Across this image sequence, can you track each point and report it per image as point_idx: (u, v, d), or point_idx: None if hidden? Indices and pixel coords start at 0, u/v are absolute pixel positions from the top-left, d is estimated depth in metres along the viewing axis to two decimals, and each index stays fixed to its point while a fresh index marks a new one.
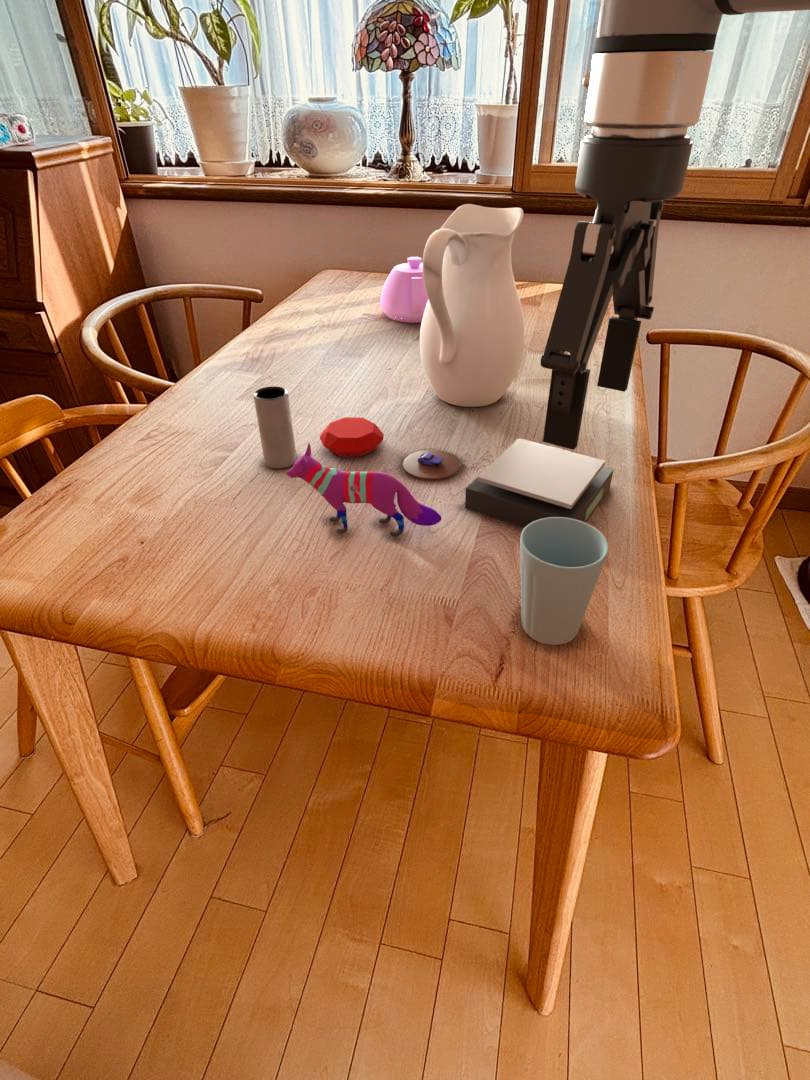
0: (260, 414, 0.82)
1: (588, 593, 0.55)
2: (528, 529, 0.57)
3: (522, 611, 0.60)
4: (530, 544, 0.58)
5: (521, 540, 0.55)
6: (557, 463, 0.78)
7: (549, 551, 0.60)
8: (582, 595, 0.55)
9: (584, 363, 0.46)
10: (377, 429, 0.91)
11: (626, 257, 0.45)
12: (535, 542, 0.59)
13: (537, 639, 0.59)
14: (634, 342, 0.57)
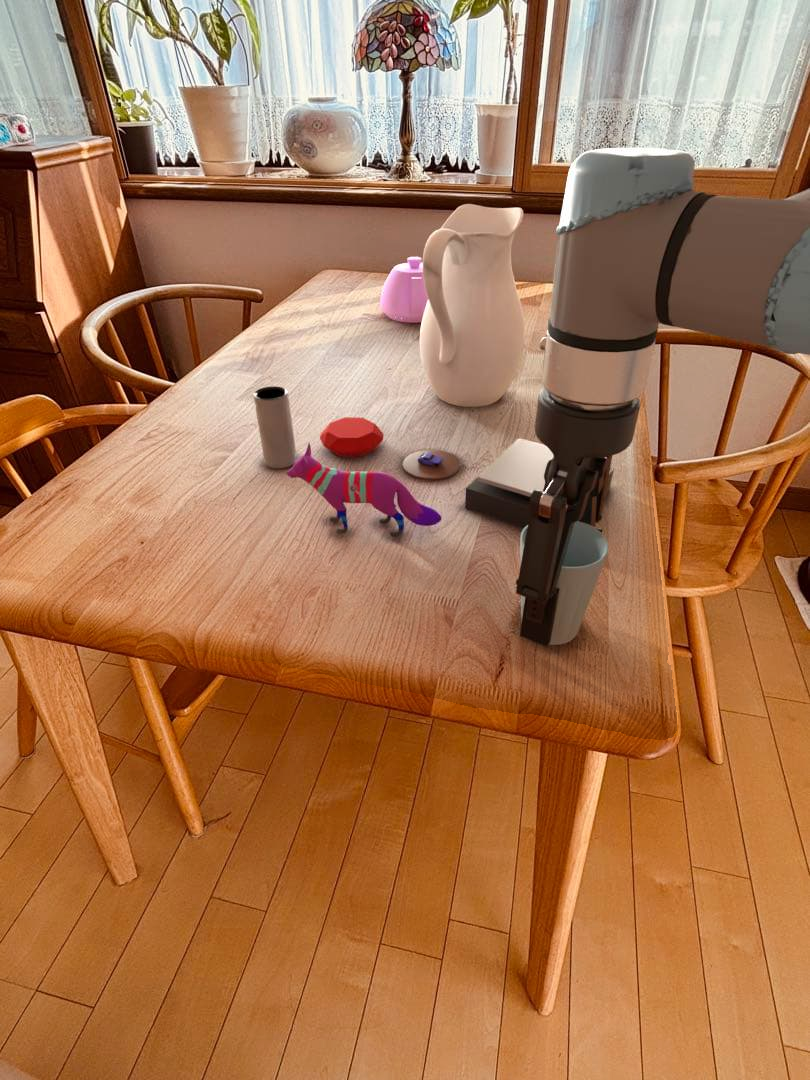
0: (260, 414, 0.82)
1: (588, 593, 0.55)
2: None
3: (522, 611, 0.60)
4: None
5: (521, 540, 0.55)
6: None
7: None
8: (582, 595, 0.55)
9: (553, 591, 0.52)
10: (377, 429, 0.91)
11: (582, 501, 0.49)
12: None
13: None
14: None
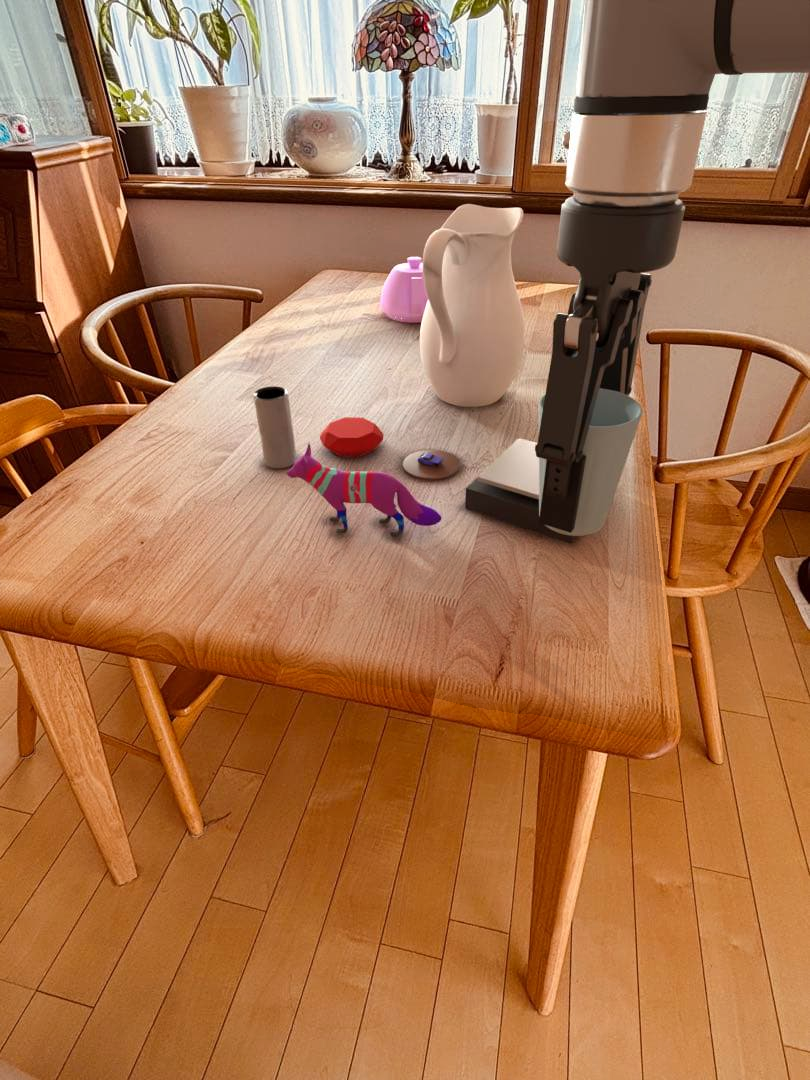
0: (260, 414, 0.82)
1: (618, 466, 0.48)
2: None
3: (540, 499, 0.52)
4: None
5: (540, 405, 0.48)
6: None
7: None
8: (612, 467, 0.47)
9: (579, 453, 0.44)
10: (377, 429, 0.91)
11: (614, 336, 0.41)
12: None
13: (558, 530, 0.52)
14: None
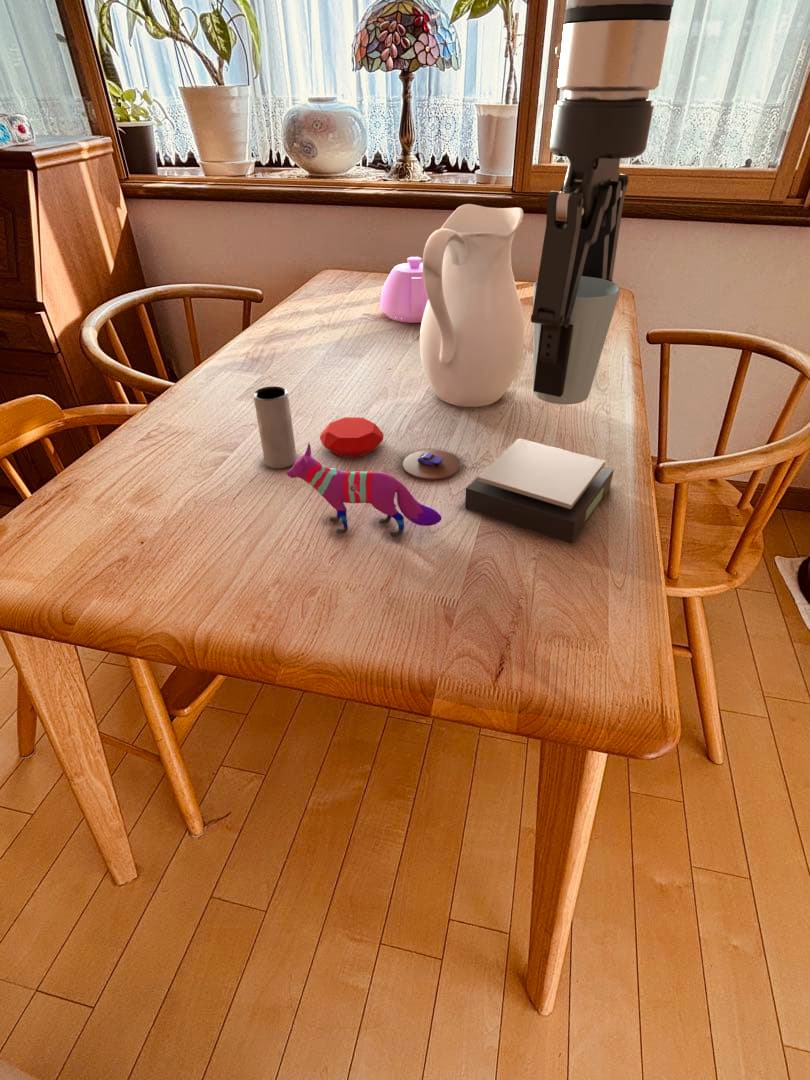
0: (260, 414, 0.82)
1: (600, 337, 0.57)
2: None
3: (534, 374, 0.61)
4: None
5: (534, 286, 0.57)
6: (557, 463, 0.78)
7: None
8: (594, 337, 0.56)
9: (567, 319, 0.53)
10: (377, 429, 0.91)
11: (597, 216, 0.51)
12: None
13: (549, 399, 0.61)
14: None
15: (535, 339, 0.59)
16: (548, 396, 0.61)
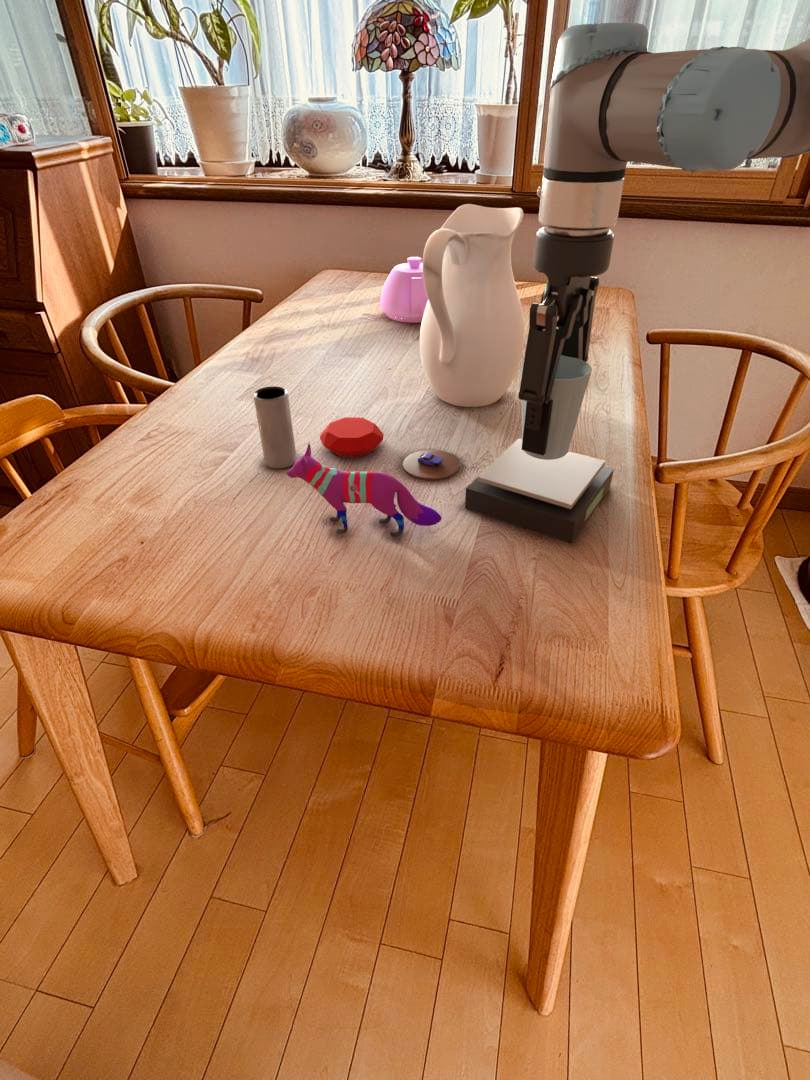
0: (260, 414, 0.82)
1: (575, 408, 0.70)
2: None
3: None
4: None
5: (522, 366, 0.70)
6: (557, 463, 0.78)
7: None
8: (570, 408, 0.69)
9: (547, 397, 0.66)
10: (377, 429, 0.91)
11: (570, 319, 0.63)
12: None
13: (535, 455, 0.74)
14: None
15: (523, 407, 0.72)
16: (534, 453, 0.74)
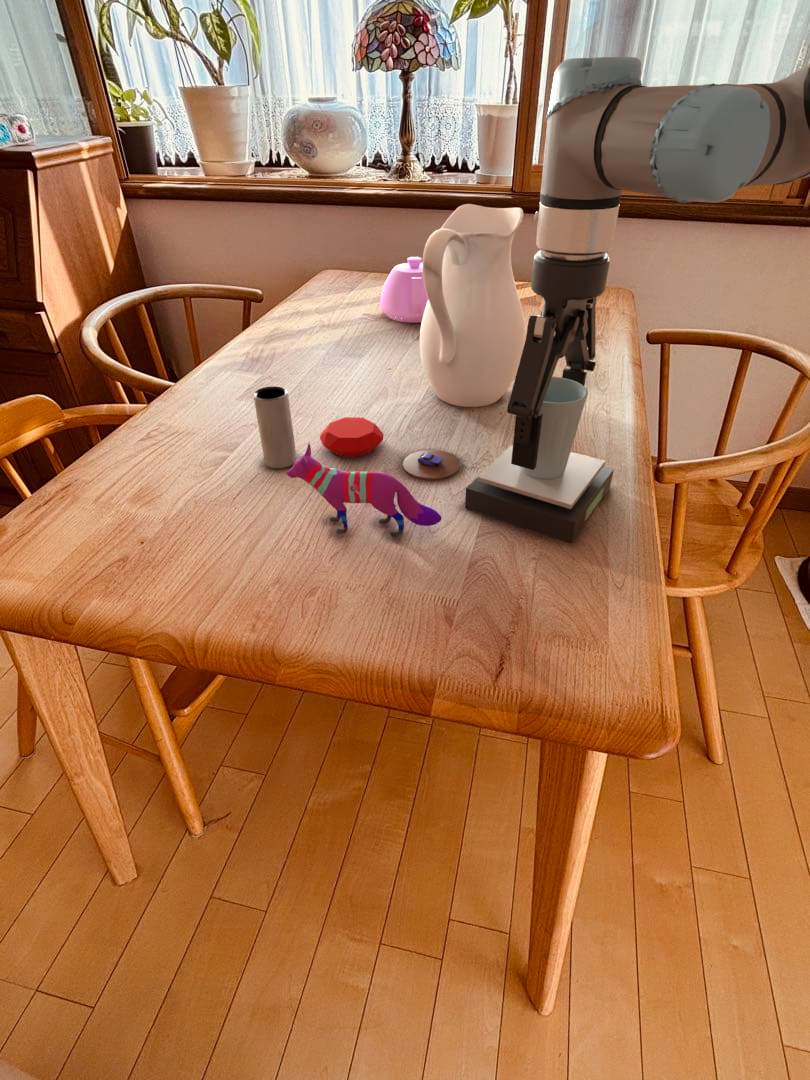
0: (260, 414, 0.82)
1: (572, 430, 0.71)
2: None
3: None
4: None
5: None
6: None
7: None
8: (567, 430, 0.71)
9: (537, 410, 0.65)
10: (377, 429, 0.91)
11: (566, 336, 0.64)
12: None
13: (532, 475, 0.75)
14: None
15: None
16: (531, 472, 0.75)
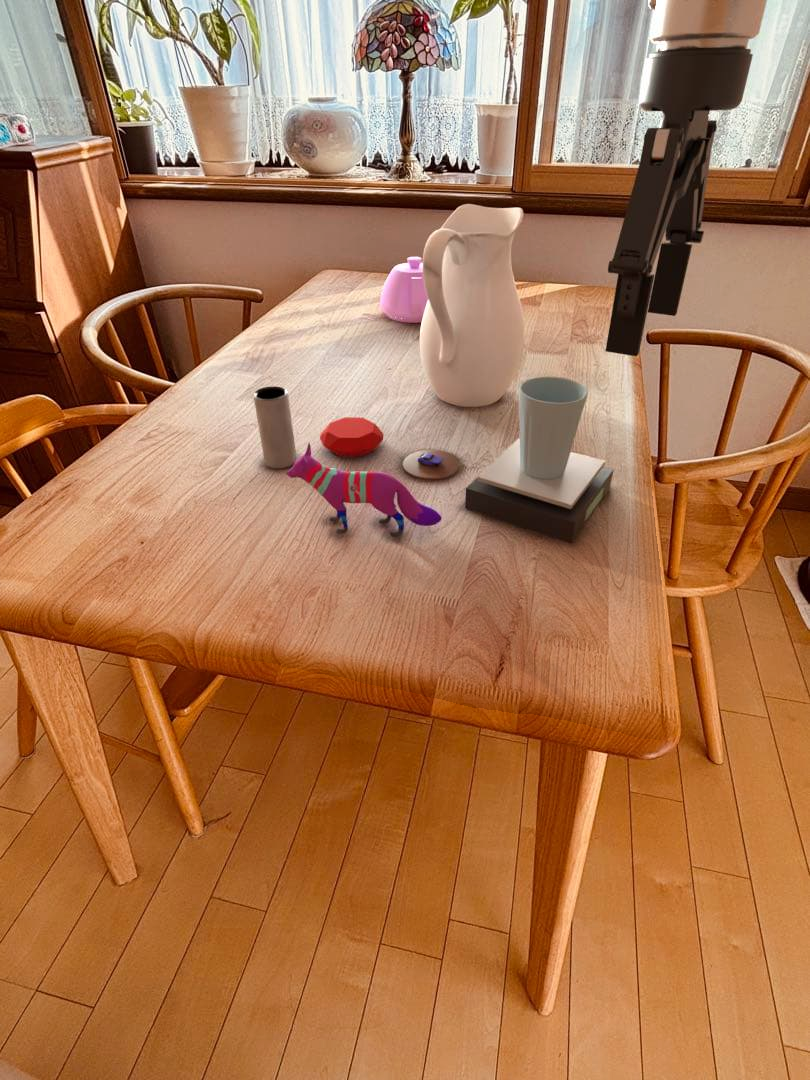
0: (260, 414, 0.82)
1: (572, 430, 0.71)
2: (525, 384, 0.73)
3: (521, 454, 0.76)
4: None
5: (520, 389, 0.71)
6: None
7: None
8: (567, 430, 0.71)
9: (651, 265, 0.49)
10: (377, 429, 0.91)
11: (689, 166, 0.48)
12: (531, 397, 0.75)
13: (532, 475, 0.75)
14: (685, 265, 0.60)
15: (521, 428, 0.74)
16: (531, 472, 0.75)
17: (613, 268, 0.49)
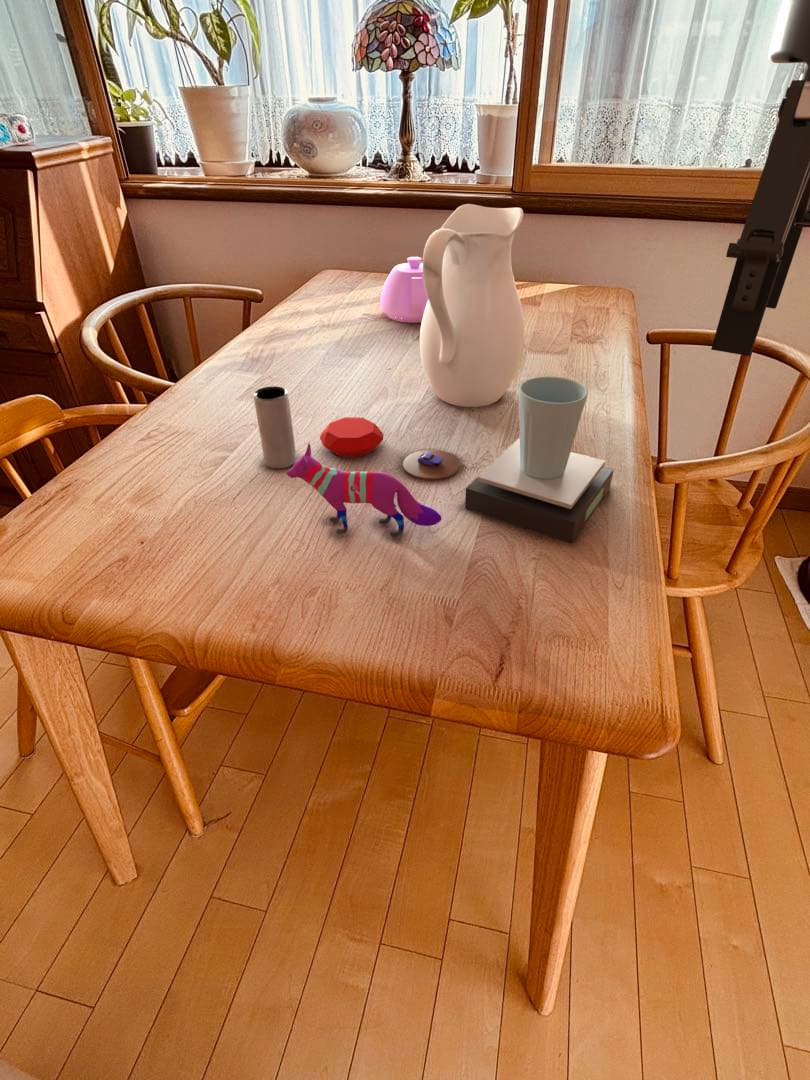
0: (260, 414, 0.82)
1: (572, 430, 0.71)
2: (525, 384, 0.73)
3: (521, 454, 0.76)
4: None
5: (520, 389, 0.71)
6: None
7: None
8: (567, 430, 0.71)
9: (782, 248, 0.41)
10: (377, 429, 0.91)
11: None
12: (531, 397, 0.75)
13: (532, 475, 0.75)
14: (794, 250, 0.52)
15: (521, 428, 0.74)
16: (531, 472, 0.75)
17: (738, 251, 0.41)
